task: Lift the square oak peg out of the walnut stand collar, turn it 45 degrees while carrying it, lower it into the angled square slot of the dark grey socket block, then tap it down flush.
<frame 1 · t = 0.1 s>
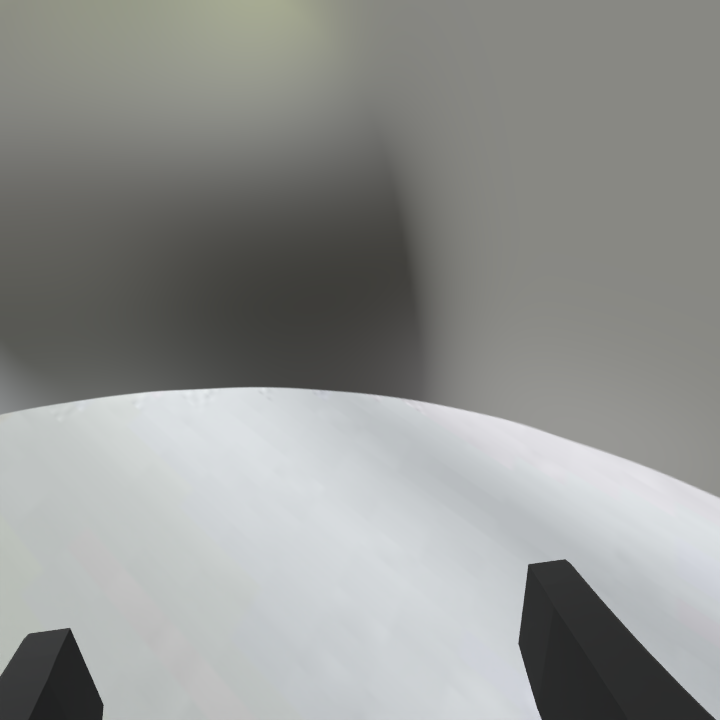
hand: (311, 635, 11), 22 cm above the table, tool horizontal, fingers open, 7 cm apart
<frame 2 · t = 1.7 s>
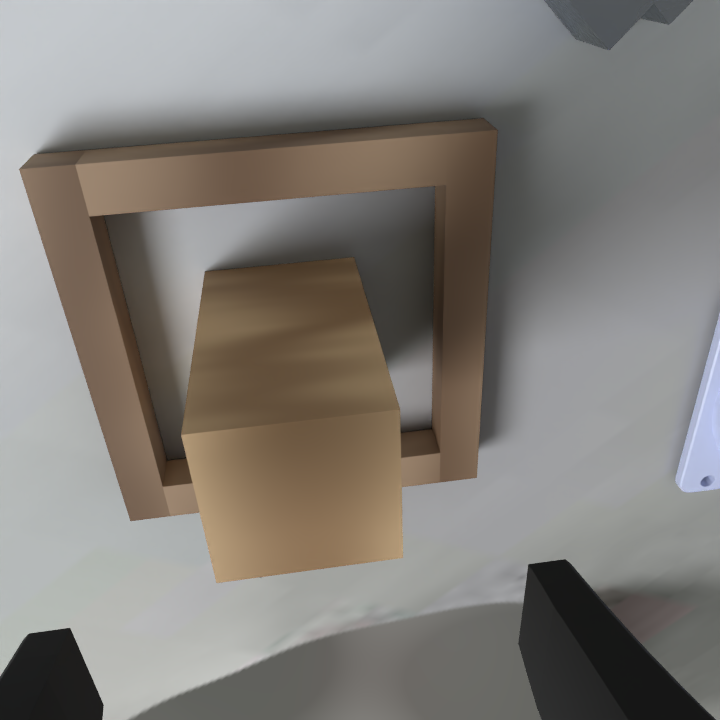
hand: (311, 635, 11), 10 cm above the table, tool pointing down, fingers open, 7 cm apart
oak peg: (293, 399, 16), in the stand collar
stand collar: (287, 329, 19), on the table
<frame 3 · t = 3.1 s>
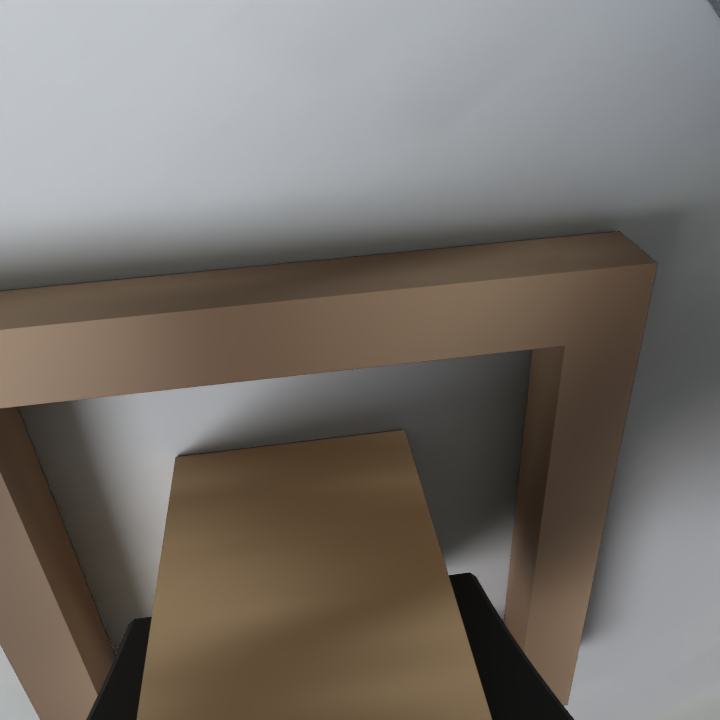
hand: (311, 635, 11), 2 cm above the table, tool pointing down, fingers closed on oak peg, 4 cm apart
oak peg: (316, 698, 10), in the stand collar, touching gripper
stand collar: (302, 525, 13), on the table
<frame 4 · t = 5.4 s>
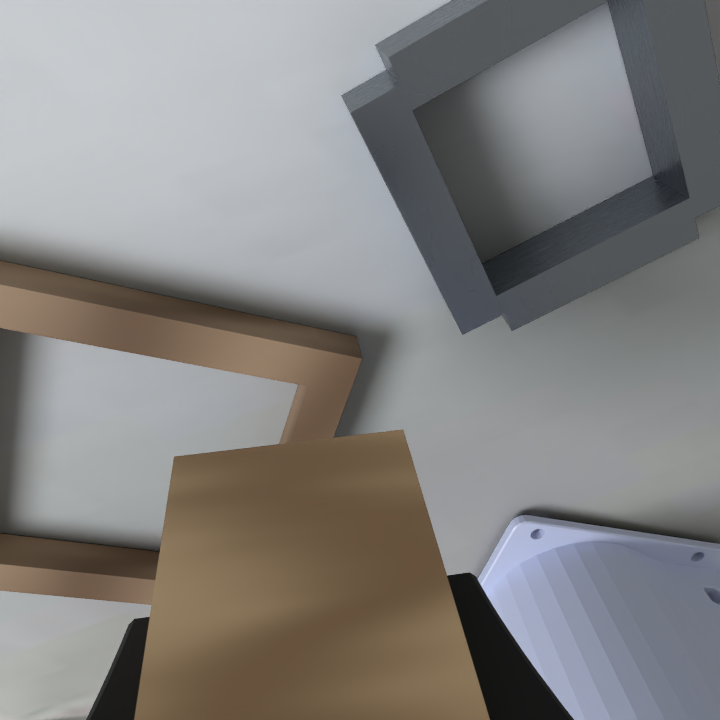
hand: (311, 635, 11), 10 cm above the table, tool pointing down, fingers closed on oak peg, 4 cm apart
socket block: (532, 137, 17), on the table
oak peg: (314, 698, 10), point 11 cm above the table, touching gripper
stand collar: (135, 450, 21), on the table
when the fingers open (3 cm above the table, at t = 8.0 s): oak peg stays where it is, resting in socket block.
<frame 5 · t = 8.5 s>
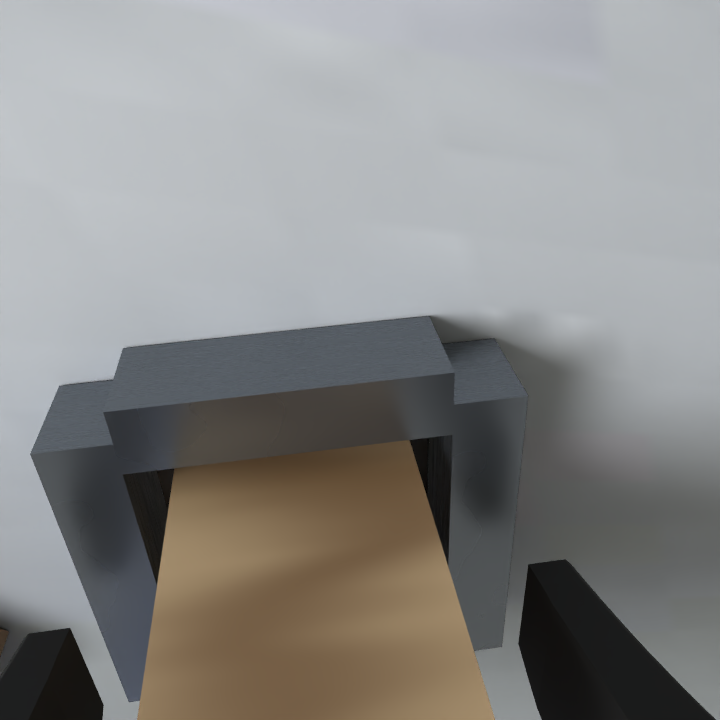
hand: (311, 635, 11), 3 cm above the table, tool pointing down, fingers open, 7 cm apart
socket block: (300, 496, 14), on the table
oak peg: (313, 646, 11), in the socket block
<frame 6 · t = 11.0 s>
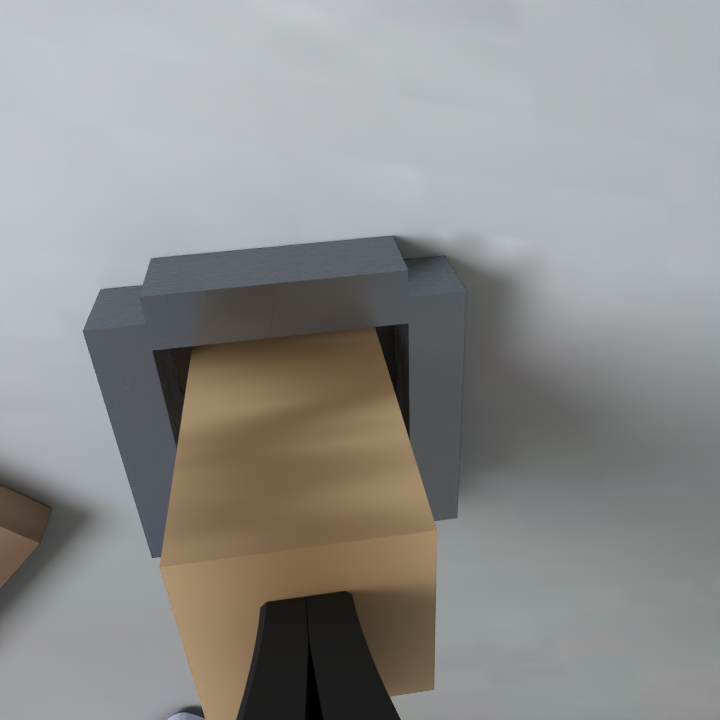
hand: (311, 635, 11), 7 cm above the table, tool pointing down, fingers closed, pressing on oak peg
socket block: (291, 391, 17), on the table
oak peg: (300, 485, 14), in the socket block, touching gripper
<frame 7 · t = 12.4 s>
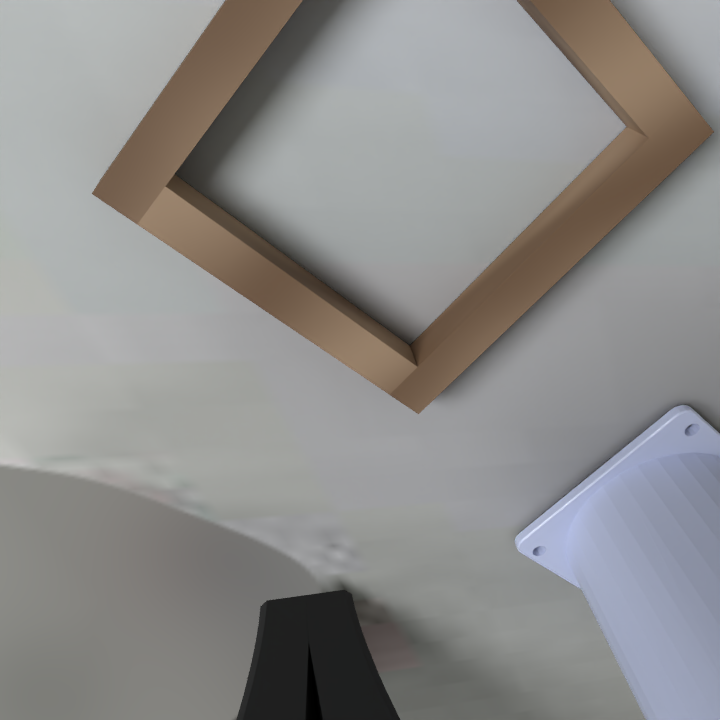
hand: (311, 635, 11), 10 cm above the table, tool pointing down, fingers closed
stand collar: (404, 148, 18), on the table
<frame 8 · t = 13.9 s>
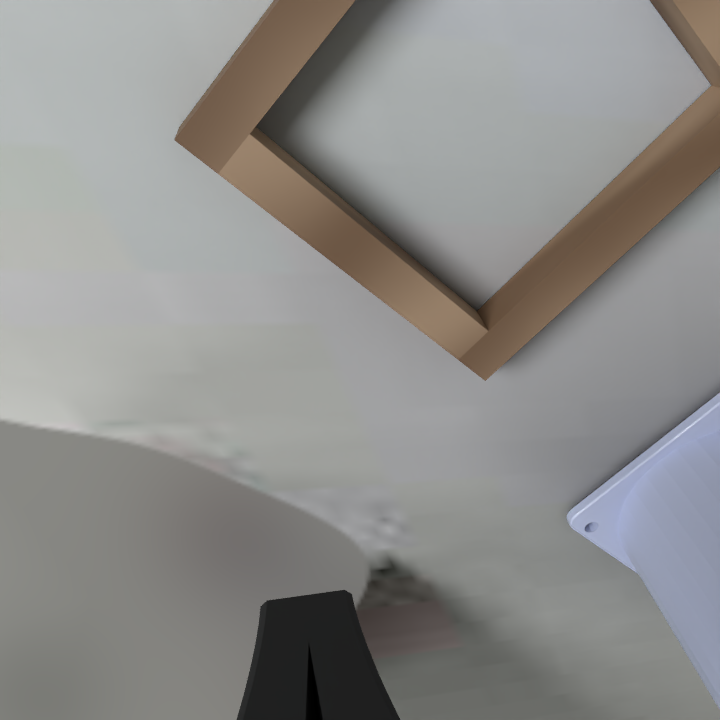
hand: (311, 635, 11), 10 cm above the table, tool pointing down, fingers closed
stand collar: (487, 102, 17), on the table
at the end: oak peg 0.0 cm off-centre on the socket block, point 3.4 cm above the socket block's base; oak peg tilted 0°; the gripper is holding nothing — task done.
